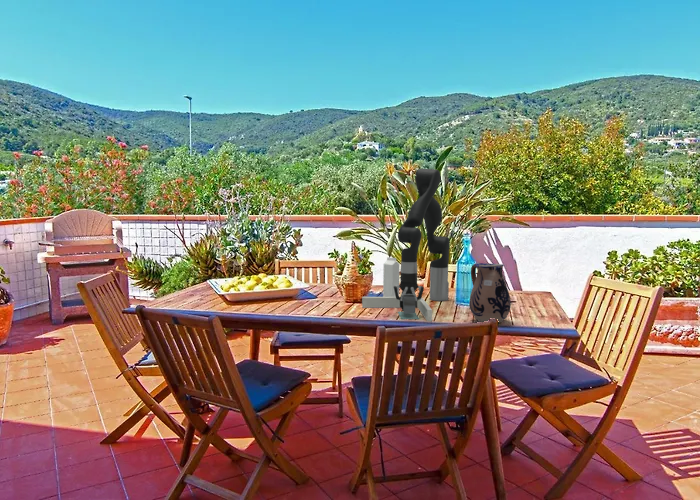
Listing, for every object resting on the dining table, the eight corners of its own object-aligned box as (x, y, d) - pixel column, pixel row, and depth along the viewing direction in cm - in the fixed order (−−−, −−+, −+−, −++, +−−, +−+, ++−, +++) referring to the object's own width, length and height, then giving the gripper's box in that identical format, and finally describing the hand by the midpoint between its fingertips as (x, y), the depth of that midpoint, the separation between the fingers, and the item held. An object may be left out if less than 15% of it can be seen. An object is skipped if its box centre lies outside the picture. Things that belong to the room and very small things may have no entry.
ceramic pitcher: (492, 328, 227) (494, 268, 224) (454, 318, 244) (455, 263, 241) (518, 322, 237) (520, 265, 235) (480, 314, 254) (482, 260, 252)
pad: (414, 312, 257) (414, 311, 257) (419, 319, 243) (419, 318, 243) (397, 312, 257) (397, 311, 257) (401, 319, 243) (401, 318, 243)
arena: (421, 306, 269) (421, 296, 268) (431, 321, 239) (432, 309, 238) (362, 306, 268) (362, 296, 268) (365, 321, 238) (365, 309, 238)
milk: (392, 301, 283) (392, 258, 281) (382, 299, 287) (383, 257, 285) (399, 299, 288) (399, 257, 285) (390, 297, 292) (390, 256, 289)
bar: (415, 313, 244) (415, 297, 243) (404, 313, 244) (404, 297, 243) (412, 308, 255) (412, 293, 254) (401, 308, 255) (401, 293, 254)
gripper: (394, 272, 244) (393, 310, 245) (426, 272, 244) (425, 310, 246) (392, 270, 251) (391, 306, 253) (423, 270, 252) (422, 307, 253)
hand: (408, 308), depth 249 cm, fingers closed on bar, 5 cm apart
